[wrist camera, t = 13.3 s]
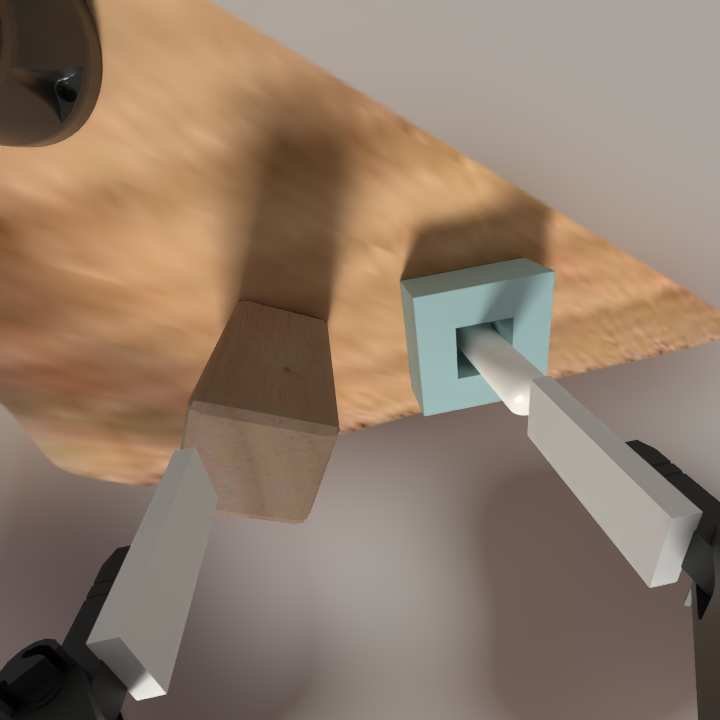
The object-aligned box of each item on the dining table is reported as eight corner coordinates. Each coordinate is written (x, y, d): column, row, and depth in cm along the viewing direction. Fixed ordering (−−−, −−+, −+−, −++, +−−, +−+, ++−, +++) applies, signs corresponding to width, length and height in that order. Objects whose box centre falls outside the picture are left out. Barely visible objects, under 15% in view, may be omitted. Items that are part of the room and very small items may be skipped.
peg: (450, 318, 44) (507, 380, 31) (484, 311, 44) (554, 370, 32) (451, 349, 46) (506, 419, 33) (484, 342, 46) (551, 409, 34)
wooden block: (329, 318, 43) (344, 427, 26) (307, 393, 47) (307, 531, 30) (238, 295, 41) (185, 397, 23) (223, 375, 45) (167, 514, 27)
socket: (399, 280, 42) (413, 298, 37) (524, 257, 43) (555, 271, 37) (411, 388, 49) (424, 416, 43) (519, 367, 49) (545, 391, 44)
